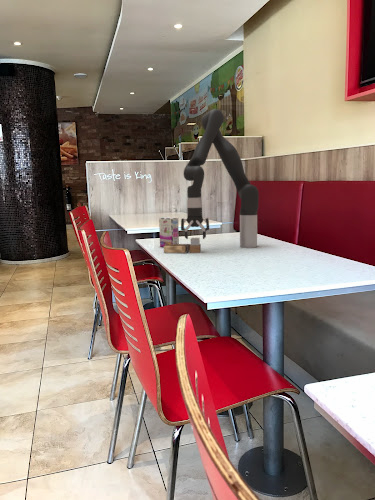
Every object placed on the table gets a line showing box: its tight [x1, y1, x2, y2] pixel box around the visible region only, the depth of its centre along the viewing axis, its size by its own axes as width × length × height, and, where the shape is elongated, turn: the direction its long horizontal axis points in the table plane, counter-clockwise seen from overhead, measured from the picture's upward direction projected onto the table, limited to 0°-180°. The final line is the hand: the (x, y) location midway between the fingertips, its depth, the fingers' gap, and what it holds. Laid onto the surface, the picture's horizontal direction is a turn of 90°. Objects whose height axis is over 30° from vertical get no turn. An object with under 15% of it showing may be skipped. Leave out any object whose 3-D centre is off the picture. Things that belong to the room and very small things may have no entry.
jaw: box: [163, 246, 187, 254], centre depth 216 cm, size 11×3×3 cm, turn 82°
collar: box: [190, 237, 201, 246], centre depth 217 cm, size 4×4×4 cm
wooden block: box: [166, 243, 202, 254], centre depth 218 cm, size 7×18×4 cm, turn 82°
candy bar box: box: [158, 217, 180, 249], centre depth 234 cm, size 11×5×16 cm, turn 42°
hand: (195, 238), depth 217 cm, fingers open, 8 cm apart
